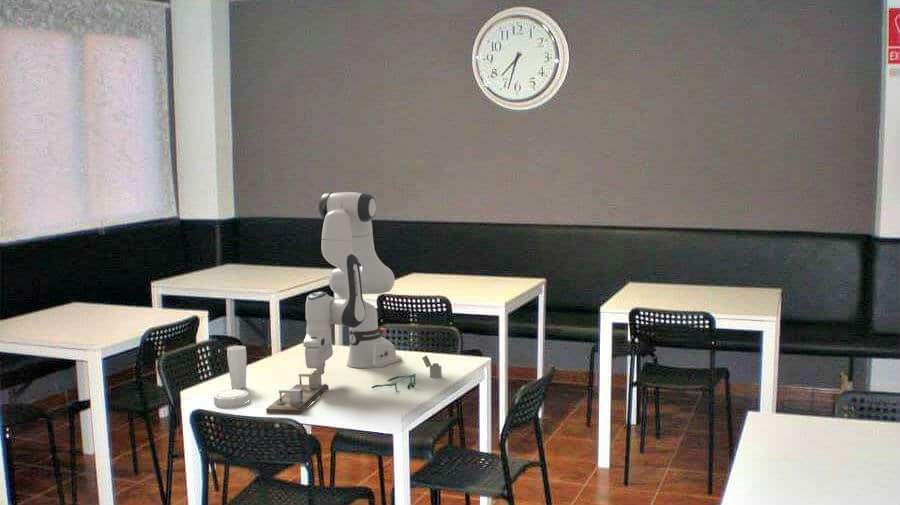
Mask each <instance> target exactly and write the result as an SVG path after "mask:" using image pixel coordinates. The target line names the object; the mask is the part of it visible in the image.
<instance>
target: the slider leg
mask: <svg viewBox="0 0 900 505" xmlns="http://www.w3.org/2000/svg"><path fill="white" fill-rule="evenodd" d="M310 371H311V370H310ZM302 377H308V385H309V388H320V387H321V386H322V385H323V383H322V375H321V373H320V372H318V371H317V370H316V369H315V370H312V371H311V372H310V373H298V378H299V384H300V385H303V383H302V382H303V381H302Z"/></svg>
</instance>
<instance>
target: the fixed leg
mask: <svg viewBox="0 0 900 505" xmlns="http://www.w3.org/2000/svg"><path fill="white" fill-rule="evenodd" d="M327 385H328V384H327V383H322V386H321V387H320V388H318V389H317V390H316V391H315V392H314V393H313V394H311V395H310V396H309V397H308V398H307V399H306V400H305V401H303V390H302V389H292V388H290V389H291V390H290V389H279V390H278V393H279V398H280V402H282V396H283V394H285V393H289V396H290V405H294V406H298V409H301V408H302V407H303V406H305V405H306V404H307V403H308V402H309V401H310V400H311V399H312V398H314V397H315V396H316V395H317V394H318V393H319V392H320V391H321V390H323V389H324V388H325V387H326V386H327Z"/></svg>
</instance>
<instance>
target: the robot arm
mask: <svg viewBox="0 0 900 505" xmlns="http://www.w3.org/2000/svg"><path fill="white" fill-rule="evenodd" d="M317 208H318V213H319V216H320V217H321V218H322V219H323V226H322V231H321V245H320V246H321V247H320V248H321V255H322V256H323V258H324V259H325V261H326V262H328V263H329V264H330V265H332V266H334V267H335V268H334V269H333V270H332V271H330V274H329V278H328V285H329V288H330V289H331V291H332V292H333V293H334V294H336V295H337V296H338V297H339V298H338V297H333V296H331V295H330V294H328V293H327V292H326V291H315V292H312V293H310V294H308V295H307V296H306V301H305V320H306V329H305V330H306V331H305V332H306V333H305V334H306V335H305V338H304V339H303V347H304V357H305V365H306V368H307V369H315V370H316V371H318V372H320V373H321V376H323V375H324V374H325V367H326V361H327V360H328V359H330V358H331V357H333V354H334V353H333V352H334V351H333V350H334V349H333V341H332V326H331V325H336V326H337V325H338V326H345V327H348V340H349V349H348V350H349V351H348V359H347V364H346V365H347V367H348V366H349V367H352V368H357V369H358V368H360V369H364V368H365V369H368V368H377V369H378V368H382V367H385V366H388V365H391V364H394V363H396V362H398V361H402V360H403V359H402V358H403V357H402V356H401V355H399V354H397V353H396V348H395V345H394V344H393V343H392V342H391V341H390V340H388V339H386V338H385V337H383V335H382V334H386V332H387V329H386V328H384V327H381V328H380V327H379V323H378V310H377V308H376V307H375V306H374V304H372V303H369V302H368V301H366V300H365V299H364V297H363V295H380V294H384V293H389V292H391V290H392V289H393V287H394V286H395V283H396V282H395V281H396V279H395V274H394V273H393V270H392V269H390V267H388V266H386V265H385V264H384V263H383V261H381V259H380V258H379V256H378V255H377V252H376V250H375V243H374V242H375V241H374V234H373V232H374V231H373V224H372V219H374V217H375V215H376V212H377V203H376V199H375V197H373V195H372V194H369V193H365V192H362V193H361V192H353V191H347V192H345V191H344V192H343V191H341V192H333V191H332V192H326V193H323V194H322V195H321V197H320V198H319V201H318V207H317Z"/></svg>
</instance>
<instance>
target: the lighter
mask: <svg viewBox="0 0 900 505" xmlns="http://www.w3.org/2000/svg"><path fill="white" fill-rule="evenodd" d="M422 361H423V362H424V364H425V367H426V368H429V378H430V379H431V378H433V379H442V376H443V374H442V373H443V372H442V371H443V370H442V368H443V367H442V365H440V364H439V363H437V362H433V363H432V364H431V361H430V358H429V357H428V355H424V356H422Z"/></svg>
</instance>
